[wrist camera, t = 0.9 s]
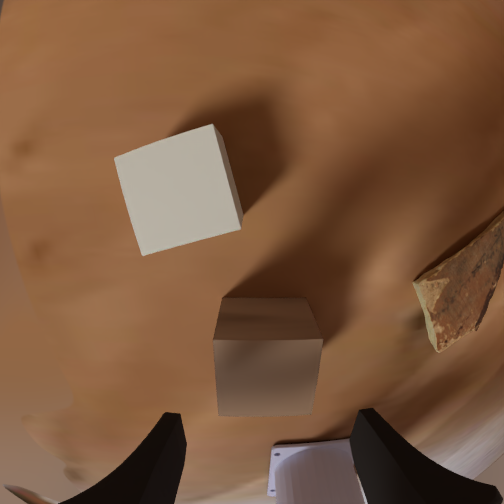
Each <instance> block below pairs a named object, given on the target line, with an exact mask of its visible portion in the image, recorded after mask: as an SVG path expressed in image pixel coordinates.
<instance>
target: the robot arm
mask: <svg viewBox="0 0 504 504" xmlns="http://www.w3.org/2000/svg"><path fill="white" fill-rule="evenodd" d="M186 446H187V442H186V438H185V433H184V429H183V424H182V419H181V414H178V413H169V412H165V413H164V414H163V415H162V417H161V418H160V420H159V421H158V422H157V424H156V425H155V427H154V428H153V429H152V430H151V432H150V433H149V434H148V436H147V437H146V438H145V439H144V440H143V441H142V443H141V444H140V445H139V446H138V447H137V448H136V450H135V451H134V452H133V453H132V454H131V455H130V456H129V457H128V458H127V459H126V460H125V461H124V462H123V463H122V464H121V465H120V466H118V467H117V468H116V469H115V470H114V471H113V472H111V473H110V474H109V475H108V476H106V477H105V478H104V479H102V480H101V481H99V482H98V483H97V484H95V485H94V486H92V487H91V488H89V489H87V490H85V491H84V492H82V493H80V494H78V495H76V496H74V497H73V498H70V499H68V500H66V501H63V502H61V503H58V504H174V502H175V498H176V494H177V490H178V486H179V483H180V479H181V475H182V471H183V467H184V462H185V455H186ZM354 464H355V467H356V470H357V473H358V476H359V479H360V481H361V484H362V487H363V490H364V493H365V496H366V499H367V502H368V504H501V503H502V501H503V498H502V496H501V495H500V493H499V491H498V489H497V488H496V487H495V486H493V485H489V484H485V483H481V482H477V481H474V480H471V479H469V478H466V477H463V476H461V475H458V474H456V473H454V472H452V471H450V470H448V469H446V468H444V467H442V466H441V465H439V464H437V463H436V462H434V461H432V460H431V459H429V458H428V457H426V456H425V455H423V454H422V453H421V452H419V451H418V450H417V449H416V448H414V447H413V446H412V445H411V444H410V443H408V442H407V441H406V440H405V439H404V438H403V437H402V436H401V435H400V434H398V433H397V432H396V431H395V430H394V429H393V428H392V427H391V426H390V425H389V424H388V423H387V422H386V421H385V420H384V419H383V418H382V417H381V416H380V415H379V414H378V413H377V412H376V411H375V410H374V409H373V408H368V409H362V410H359V412H358V415H357V418H356V421H355V424H354V427H353V430H352V433H351V436H350V438H349V439H342V440H334V441H325V442H315V443H303V444H286V445H275V446H273V447H272V449H271V460H270V470H269V480H268V490H267V495H268V496H276V504H365V502H364V499H363V495H362V492H361V489H360V485H359V482H358V479H357V475H356V472H355V469H354V466H353V465H354Z"/></svg>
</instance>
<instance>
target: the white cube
mask: <svg viewBox="0 0 504 504" xmlns="http://www.w3.org/2000/svg"><path fill="white" fill-rule="evenodd" d="M114 160H115V164H116V168H117V172H118V176H119V180H120V184H121V187H122V191H123V195H124V198H125V202H126V205H127V209H128V212H129V216H130V219H131V222H132V226H133V229H134V232H135V235H136V238H137V241H138V245H139V248H140V251H141V254H142V256H144V255H147V254H151V253H154V252H158V251H162V250H165V249H169V248H173V247H176V246H180V245H184V244H187V243H191V242H195V241H198V240H202V239H206V238H210V237H213V236H217V235H221V234H225V233H229V232H233V231H236V230H240V229H241V227H242V221H243V211H242V208H241V204H240V200H239V196H238V193H237V189H236V185H235V181H234V178H233V174H232V170H231V166H230V163H229V159H228V155H227V152H226V148H225V144H224V140H223V137H222V136H221V134H220V133H219V131H218V130H217V129H216V127H215V126H214V125H213V124H210V125H207V126H203V127H200V128H197V129H193V130H190V131H187V132H184V133H181V134H178V135H175V136H172V137H169V138H166V139H163V140H160V141H157V142H154V143H152V144H149V145H146V146H143V147H141V148H138V149H135V150H133V151H130V152H128V153H125V154H123V155H120V156H118V157H115V158H114Z"/></svg>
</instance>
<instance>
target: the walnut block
mask: <svg viewBox="0 0 504 504" xmlns="http://www.w3.org/2000/svg"><path fill="white" fill-rule="evenodd" d="M322 345H323V337H322V335H321V332H320V330H319V327H318V325H317V323H316V320H315V318H314V316H313V313H312V311H311V309H310V306H309V304H308V302H307V299H306V298H222V301H221V306H220V310H219V315H218V319H217V324H216V329H215V333H214V338H213V347H214V362H215V376H216V390H217V402H218V414H219V416H235V417H273V416H298V415H311V414H312V409H313V403H314V397H315V391H316V385H317V379H318V373H319V366H320V359H321V352H322Z"/></svg>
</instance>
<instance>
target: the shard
mask: <svg viewBox="0 0 504 504" xmlns="http://www.w3.org/2000/svg"><path fill="white" fill-rule="evenodd" d="M503 264H504V210H503V212H502V213H501V214H500V215H499V216H498V217H496V218H495V219H494V220H493V221H492V222H491V224H490V225H489V226H488V227H487V228H486V229H485V230H484V231H483V232H482V233H481V234H479V235H478V236H477V237H476V238H475V239H474V240H472V241H471V242H470V243H469V245H467V246H466V247H464V248H463V249H462V250H460V251H459V252H457V253H456V254H455V255H453V256H451V257H450V258H447V259H446V260H444V261H443V262H442V263H441V264H440V265H438V266H436V267H435V268H433V269H431V270H430V271H428V272H426V273H424V274H423V275H421V276H420V278H419V279H417V280H415V281H413V285H414V288H415V290H416V293H417V295H418V298H419V301H420V304H421V306H422V308H423V312H424V314H425V320H426V327H427V330H428V335H429V339H430V342H431V343H432V344H433V346H434V348H435V350H436V351H437V352H438V353H440V352H442V351H443V350H445V349H447V348H448V347H449V346H450V345H452V344H453V343H455V342H456V341H457V340H458V339H460V338H462V337H463V336H465V335H467V334H468V333H470V332H472V331H477V329H478V327H479V325H480V323H481V322H482V319H483V317H484V315H485V313H486V311H487V308H488V304H489V301H490V299H491V298H492V296H493V293H494V291H495V288H496V285H497V282H498V280H499V277H500V274H501V270H502V268H503Z"/></svg>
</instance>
